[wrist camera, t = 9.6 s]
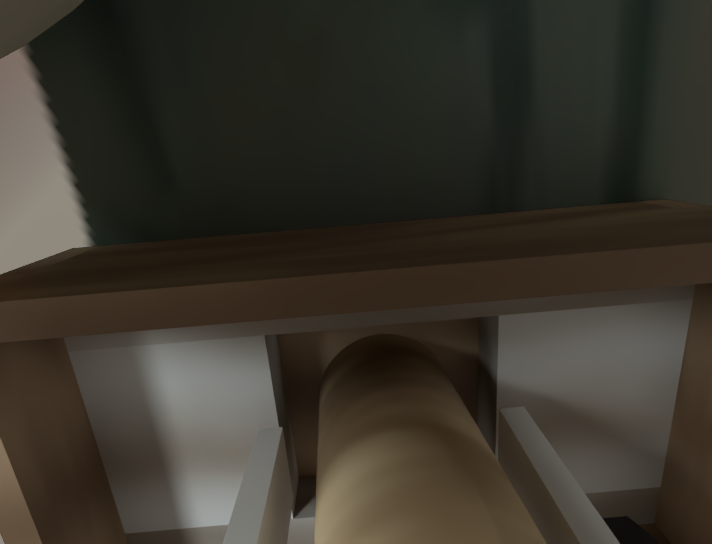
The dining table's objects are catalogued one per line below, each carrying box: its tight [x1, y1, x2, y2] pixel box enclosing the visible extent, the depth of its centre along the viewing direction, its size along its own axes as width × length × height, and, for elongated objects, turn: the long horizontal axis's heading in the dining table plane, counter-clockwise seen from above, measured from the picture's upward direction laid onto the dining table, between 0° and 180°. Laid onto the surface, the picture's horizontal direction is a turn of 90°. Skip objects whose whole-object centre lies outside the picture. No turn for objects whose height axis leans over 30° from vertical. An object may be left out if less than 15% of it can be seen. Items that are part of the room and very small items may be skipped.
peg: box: [314, 334, 547, 544], centre depth 10 cm, size 5×5×12 cm
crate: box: [0, 199, 712, 544], centre depth 14 cm, size 13×22×6 cm, turn 94°
